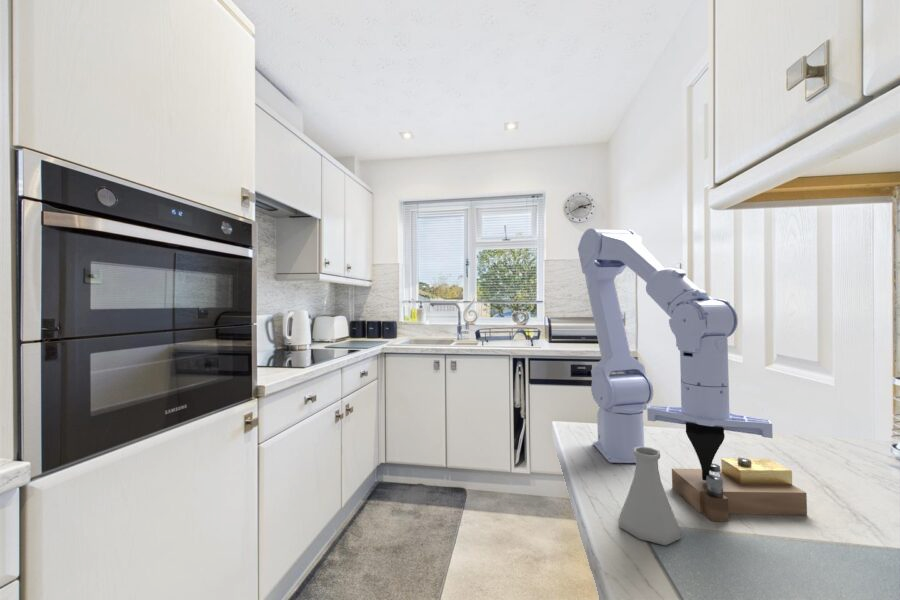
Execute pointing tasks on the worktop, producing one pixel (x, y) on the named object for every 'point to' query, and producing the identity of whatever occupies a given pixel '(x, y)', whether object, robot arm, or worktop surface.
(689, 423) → the robot arm
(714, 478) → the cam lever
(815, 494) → the worktop surface
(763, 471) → the lever cap
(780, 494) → the body
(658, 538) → the flask
